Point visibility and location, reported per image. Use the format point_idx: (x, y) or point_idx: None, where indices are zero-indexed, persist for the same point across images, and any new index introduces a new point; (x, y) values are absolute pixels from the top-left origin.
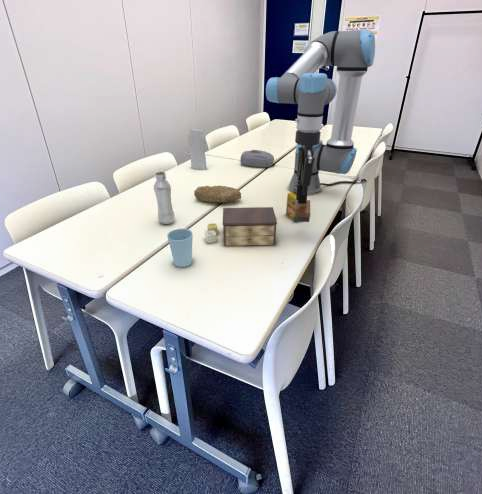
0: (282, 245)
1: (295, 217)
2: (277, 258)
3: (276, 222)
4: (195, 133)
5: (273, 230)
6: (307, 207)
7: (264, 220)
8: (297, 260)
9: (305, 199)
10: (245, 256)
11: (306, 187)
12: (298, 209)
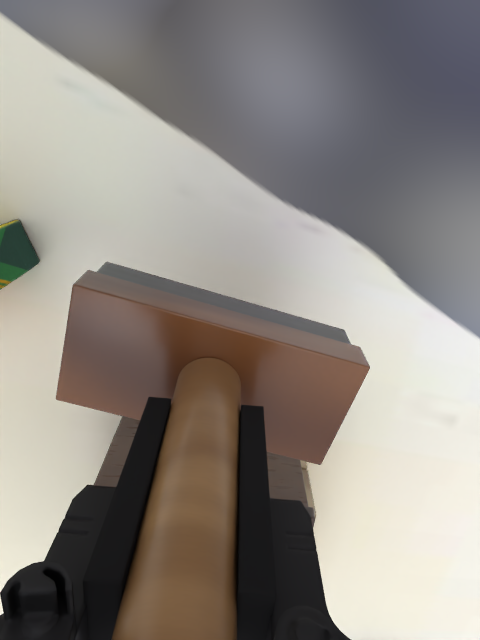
0: None
1: (25, 272)
2: (408, 431)
3: (314, 520)
4: None
5: (311, 494)
6: (244, 356)
7: None
8: (452, 356)
9: (262, 442)
10: (358, 532)
11: (326, 607)
12: (267, 432)
